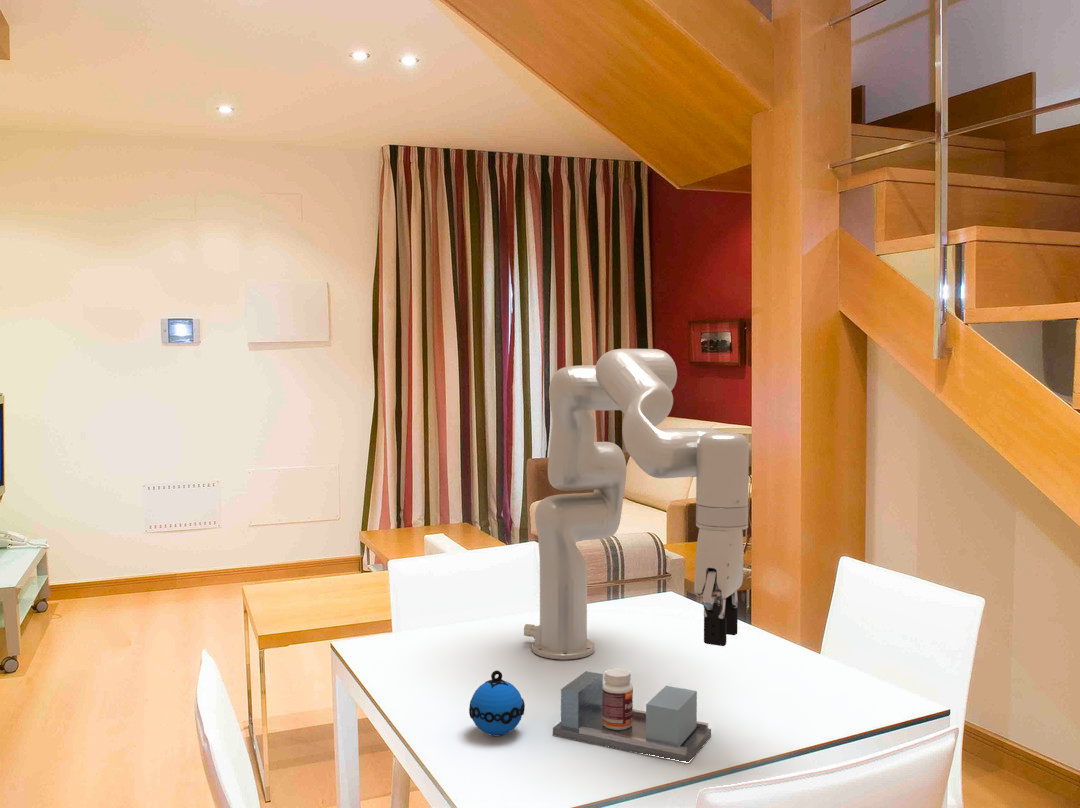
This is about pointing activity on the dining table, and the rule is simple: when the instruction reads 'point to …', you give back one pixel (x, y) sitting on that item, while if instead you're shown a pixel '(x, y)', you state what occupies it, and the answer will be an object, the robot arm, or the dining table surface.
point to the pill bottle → (617, 699)
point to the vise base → (586, 726)
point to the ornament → (496, 706)
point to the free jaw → (671, 715)
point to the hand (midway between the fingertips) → (720, 637)
